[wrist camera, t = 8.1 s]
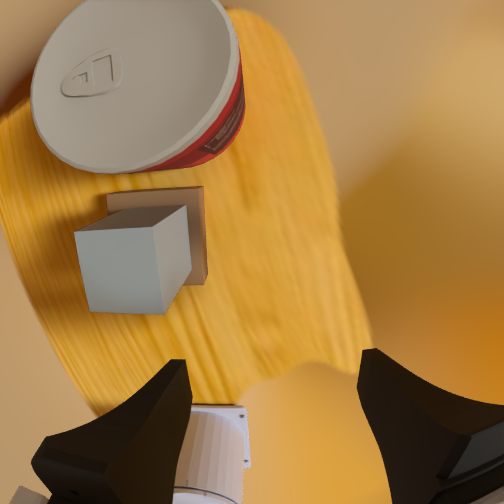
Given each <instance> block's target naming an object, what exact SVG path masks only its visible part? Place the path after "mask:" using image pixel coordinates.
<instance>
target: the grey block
mask: <svg viewBox="0 0 504 504" xmlns="http://www.w3.org/2000/svg"><path fill="white" fill-rule="evenodd" d="M74 235H75V242H76V248H77V253H78V259H79V264H80V269H81V274H82V279H83V283H84V288H85V292H86V297H87V301H88V305H89V309H90V312H105V313H127V314H156V315H165V313H166V312H167V310H168V308H169V306H170V305H171V303H172V301H173V300H174V298H175V296H176V295H177V293H178V291H179V290H180V288H181V286H182V285H183V283H184V282H185V280H186V278H187V277H188V275H189V273H190V272H191V270H192V265H191V255H190V244H189V233H188V222H187V209H186V205H174V206H159V207H145V208H132V209H124V210H122V211H119V212H117V213H115V214H112V215H110V216H108V217H105V218H103V219H101V220H99V221H96V222H94V223H92V224H90V225H88V226H85V227H83V228H81V229H79V230H77V231H75V232H74Z"/></svg>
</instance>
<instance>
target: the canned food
mask: <svg viewBox="0 0 504 504" xmlns="http://www.w3.org/2000/svg"><path fill="white" fill-rule="evenodd" d="M30 104H31V111H32V117H33V121H34V124H35V127H36V129H37V132H38V134H39V136H40V138H41V139H42V141H43V142H44V144H45V145H46V147H47V148H48V149H49V150H50V151H51V152H52V153H53V154H54V155H55V156H56V157H58V158H59V159H60V160H61V161H63V162H65V163H67V164H69V165H71V166H73V167H75V168H77V169H81V170H85V171H89V172H93V173H100V174H132V173H141V172H150V171H159V170H169V169H180V168H188V167H194V166H197V165H200V164H203V163H205V162H207V161H209V160H211V159H213V158H215V157H216V156H218V155H219V154H220V153H222V152H223V151H224V150H225V149H226V148H227V147H228V146H229V145H230V144H231V143H232V142H233V140H234V139H235V137H236V136H237V134H238V132H239V131H240V128H241V125H242V123H243V120H244V114H245V95H244V85H243V74H242V64H241V54H240V49H239V42H238V38H237V35H236V32H235V29H234V26H233V23H232V22H231V20H230V17H229V16H228V14H227V13H226V11H225V10H224V8H223V7H222V5H221V4H220V2H219V1H217V0H86V1H84V2H83V3H82V4H80V5H79V6H77V7H76V8H75V9H74V10H73V11H72V12H71V13H70V14H69V15H67V16H66V17H65V18H64V19H63V21H62V22H61V23H60V24H59V25H58V27H57V28H56V29H55V30H54V32H53V33H52V34H51V36H50V38H49V39H48V41H47V43H46V44H45V46H44V48H43V49H42V51H41V54H40V56H39V59H38V61H37V64H36V67H35V70H34V75H33V79H32V84H31V99H30Z"/></svg>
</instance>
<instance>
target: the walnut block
mask: <svg viewBox="0 0 504 504" xmlns="http://www.w3.org/2000/svg"><path fill="white" fill-rule="evenodd" d="M174 205H186V209H187V222H188V233H189V244H190V255H191V265H192V270H191V272H190V273H189V275H188V277H187V278H186V280H185V282H184V283H183V285H204V283H205V280H206V278H207V275H208V267H207V250H206V230H205V208H204V186H197V187H176V188H159V189H144V190H130V191H119V192H115V193H111V194H107V208H108V216H110V215H112V214H115V213H117V212H119V211H122V210H124V209H132V208H145V207H159V206H174Z"/></svg>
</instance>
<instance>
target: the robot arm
mask: <svg viewBox="0 0 504 504" xmlns="http://www.w3.org/2000/svg"><path fill="white" fill-rule="evenodd" d="M357 390H358V395H359V399H360V402H361V405H362V409H363V411H364V413H365V416H366V418H367V420H368V423H369V425H370V427H371V430H372V432H373V434H374V436H375V439H376V441H377V444H378V446H379V449H380V452H381V455H382V458H383V462H384V466H385V470H386V473H387V477H388V482H389V487H390V492H391V498H392V504H504V405H497V404H489V403H484V402H480V401H475V400H471V399H468V398H464V397H461V396H458V395H456V394H452V393H450V392H448V391H445V390H443V389H441V388H439V387H437V386H434V385H432V384H431V383H429V382H427V381H425V380H423V379H422V378H420V377H418V376H417V375H415V374H413V373H412V372H410V371H409V370H407V369H406V368H404V367H403V366H401V365H400V364H398V363H397V362H395V361H394V360H393V359H391V358H390V357H389V356H387V355H386V354H384V353H383V352H381V351H380V350H378V349H377V348H374V349H366V350H363V351H362V358H361V364H360V371H359V377H358V383H357ZM192 398H193V396H192V391H191V386H190V381H189V376H188V371H187V366H186V361H185V360H182V359H171V360H170V361H169V362H168V363H167V364H166V365H165V366H164V367H163V368H162V369H161V370H160V371H159V372H158V373H157V374H156V375H155V376H154V377H153V378H152V379H150V380H149V381H148V382H147V383H146V384H145V385H144V386H143V387H142V388H141V389H140V390H138V391H137V392H136V393H135V394H134V395H132V396H131V397H130V398H129V399H127V400H126V401H125V402H123V403H122V404H121V405H119V406H118V407H116V408H115V409H113V410H111V411H110V412H108V413H106V414H105V415H103V416H101V417H99V418H97V419H95V420H93V421H91V422H89V423H87V424H85V425H82V426H80V427H77V428H75V429H72V430H69V431H66V432H62V433H59V434H55V435H51V436H47V437H46V438H45V439H44V440H43V442H42V444H41V445H40V447H39V448H38V450H37V452H36V453H35V455H34V456H33V458H32V461H31V465H32V467H33V470H34V472H35V473H36V475H37V476H38V477H39V478H40V480H41V481H42V482H43V483H44V485H46V487H47V488H48V489H49V491H50V492H51V493H52V495H51V497H50V499H48V498H46V497H45V496H43V495H41V494H39V493H36V492H34V491H32V490H30V489H27V488H25V487H23V486H19V487H18V489H17V491H16V493H15V494H14V496H13V498H12V500H11V501H10V503H9V504H243V469H246V468H250V467H251V456H250V444H249V432H248V417H247V409H246V407H244V406H209V405H192ZM239 414H243V415H239Z"/></svg>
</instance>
